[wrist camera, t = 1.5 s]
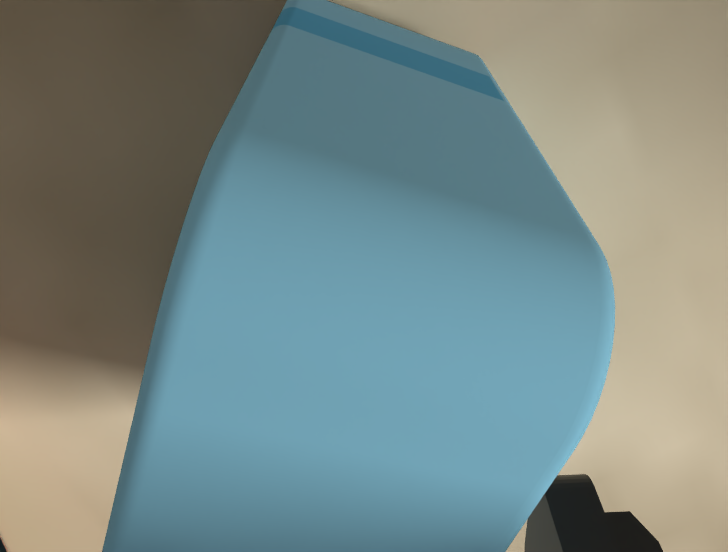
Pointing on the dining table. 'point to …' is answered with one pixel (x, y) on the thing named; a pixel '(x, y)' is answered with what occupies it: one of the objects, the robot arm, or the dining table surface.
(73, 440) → the dining table surface
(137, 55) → the dining table surface
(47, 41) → the dining table surface
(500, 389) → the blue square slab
